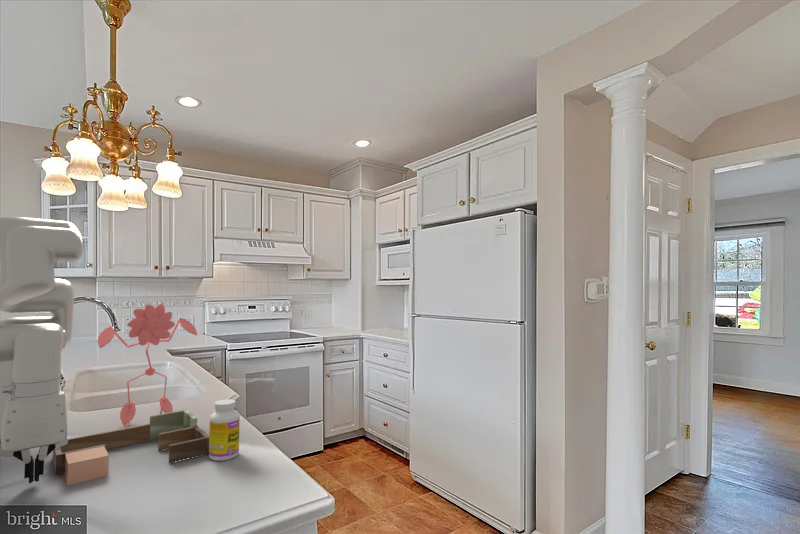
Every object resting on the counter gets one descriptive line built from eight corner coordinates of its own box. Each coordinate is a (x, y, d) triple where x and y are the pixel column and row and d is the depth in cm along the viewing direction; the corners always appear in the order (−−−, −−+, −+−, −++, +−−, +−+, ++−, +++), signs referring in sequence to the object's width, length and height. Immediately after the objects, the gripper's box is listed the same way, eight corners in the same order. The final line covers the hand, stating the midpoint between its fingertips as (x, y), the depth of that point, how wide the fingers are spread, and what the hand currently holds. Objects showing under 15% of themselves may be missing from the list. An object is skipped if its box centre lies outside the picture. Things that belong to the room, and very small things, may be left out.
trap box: (52, 458, 102) (53, 432, 103) (185, 431, 121) (186, 409, 122) (58, 491, 87) (59, 460, 87) (210, 453, 106) (211, 428, 106)
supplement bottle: (228, 463, 100) (229, 406, 101) (202, 460, 102) (203, 404, 102) (244, 452, 107) (245, 399, 107) (220, 449, 108) (221, 397, 109)
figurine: (91, 426, 125) (96, 304, 126) (187, 409, 143) (191, 301, 144) (101, 441, 114) (106, 307, 115) (204, 421, 132) (207, 304, 132)
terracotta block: (64, 474, 94) (65, 453, 95) (103, 466, 99) (104, 446, 99) (67, 486, 89) (67, 464, 89) (108, 476, 94) (108, 455, 94)
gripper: (-15, 398, 81) (-19, 498, 81) (83, 386, 91) (81, 475, 90) (-13, 390, 87) (-16, 484, 86) (80, 380, 97) (77, 464, 96)
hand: (33, 479), depth 88 cm, fingers closed
